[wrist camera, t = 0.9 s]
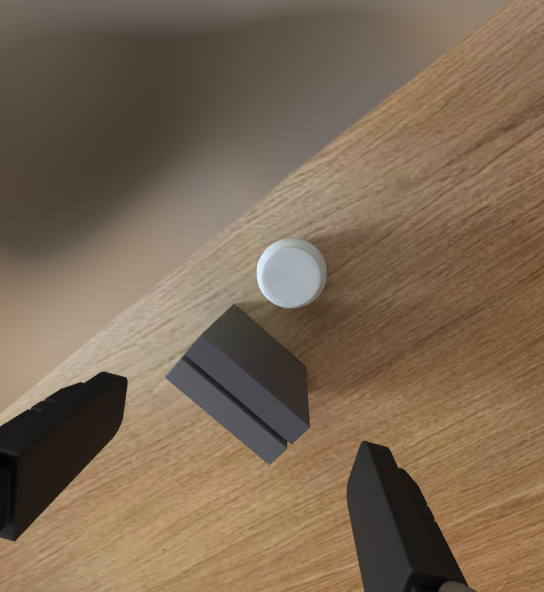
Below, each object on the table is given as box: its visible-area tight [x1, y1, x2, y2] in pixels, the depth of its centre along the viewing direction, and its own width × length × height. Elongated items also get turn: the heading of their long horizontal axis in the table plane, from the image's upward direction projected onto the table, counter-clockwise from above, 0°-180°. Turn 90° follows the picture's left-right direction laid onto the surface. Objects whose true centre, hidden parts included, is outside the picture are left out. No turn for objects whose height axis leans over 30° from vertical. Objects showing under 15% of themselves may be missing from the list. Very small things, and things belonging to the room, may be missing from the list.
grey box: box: [165, 304, 310, 465], centre depth 24 cm, size 10×4×10 cm, turn 49°
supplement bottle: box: [257, 238, 327, 309], centre depth 23 cm, size 5×5×10 cm
